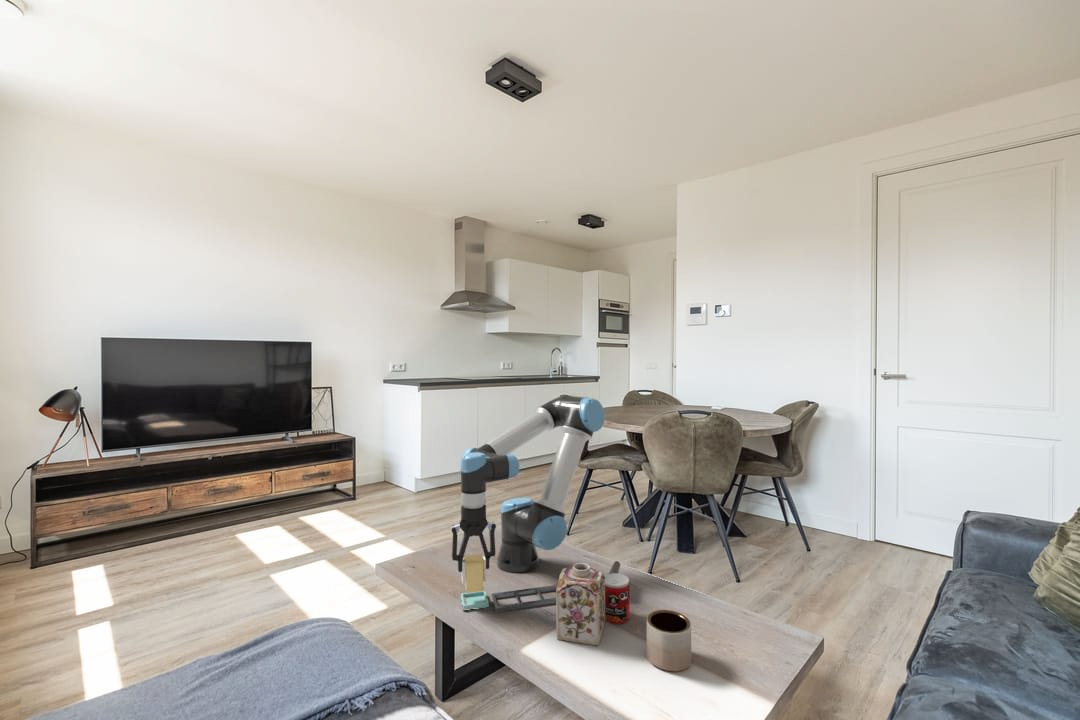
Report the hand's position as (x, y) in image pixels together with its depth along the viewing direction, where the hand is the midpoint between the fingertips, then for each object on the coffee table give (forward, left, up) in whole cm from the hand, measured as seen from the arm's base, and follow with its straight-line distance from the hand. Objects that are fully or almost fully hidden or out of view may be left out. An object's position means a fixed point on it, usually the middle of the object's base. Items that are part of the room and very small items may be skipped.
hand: (473, 580), depth 148 cm
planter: (-44, +39, -7) cm, 59 cm away
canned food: (-39, +18, -7) cm, 43 cm away
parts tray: (0, 0, -7) cm, 7 cm away
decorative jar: (-27, +22, -7) cm, 36 cm away
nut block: (0, 0, -2) cm, 2 cm away
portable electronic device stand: (-43, +4, -7) cm, 44 cm away
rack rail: (-17, +2, -7) cm, 18 cm away
